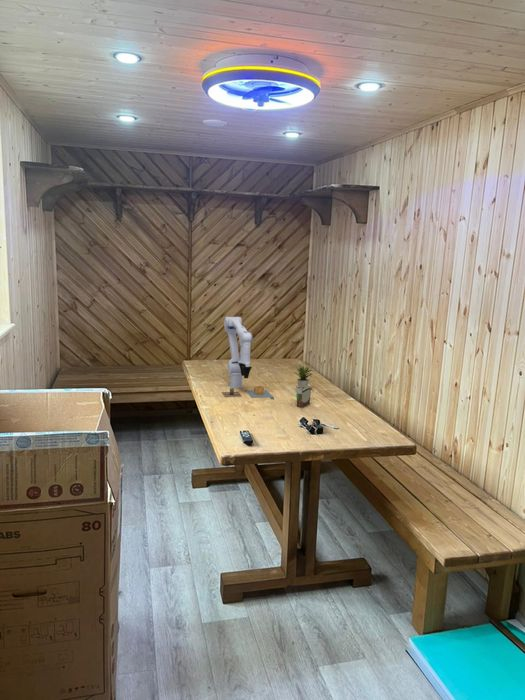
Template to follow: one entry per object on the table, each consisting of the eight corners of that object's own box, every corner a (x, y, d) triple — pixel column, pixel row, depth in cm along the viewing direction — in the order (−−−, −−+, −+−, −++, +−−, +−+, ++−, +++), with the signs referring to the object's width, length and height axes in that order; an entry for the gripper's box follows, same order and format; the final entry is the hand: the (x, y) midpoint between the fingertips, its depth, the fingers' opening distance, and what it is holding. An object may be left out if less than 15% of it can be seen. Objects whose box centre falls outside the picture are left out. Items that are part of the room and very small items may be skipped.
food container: (300, 402, 303) (301, 384, 301) (310, 404, 300) (311, 386, 298) (290, 407, 292) (291, 388, 291) (300, 408, 289) (301, 390, 287)
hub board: (244, 392, 321) (245, 384, 320) (266, 391, 324) (266, 384, 323) (251, 400, 304) (251, 392, 303) (273, 399, 307) (274, 391, 306)
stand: (221, 394, 315) (221, 386, 314) (238, 393, 317) (238, 386, 316) (224, 399, 303) (224, 391, 302) (242, 398, 305) (242, 391, 305)
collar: (253, 392, 315) (253, 386, 315) (262, 392, 317) (262, 385, 316) (255, 395, 310) (255, 388, 310) (264, 394, 311) (264, 388, 311)
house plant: (311, 393, 322) (312, 366, 320) (288, 391, 327) (289, 364, 324) (316, 388, 336) (318, 362, 333) (295, 386, 340) (296, 360, 337)
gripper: (236, 351, 318) (235, 374, 320) (240, 355, 304) (240, 379, 306) (247, 351, 319) (247, 374, 321) (253, 355, 305) (252, 379, 308)
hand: (244, 376), depth 314 cm, fingers open, 7 cm apart
